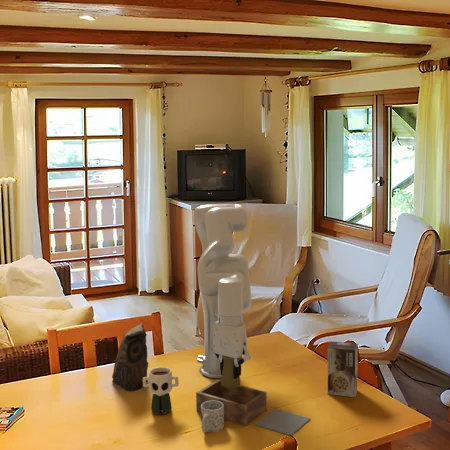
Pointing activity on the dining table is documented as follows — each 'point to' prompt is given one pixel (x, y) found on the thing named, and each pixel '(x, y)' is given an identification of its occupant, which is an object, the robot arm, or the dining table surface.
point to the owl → (131, 360)
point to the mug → (212, 416)
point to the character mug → (160, 388)
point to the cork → (229, 373)
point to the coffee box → (342, 368)
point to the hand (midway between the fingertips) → (230, 374)
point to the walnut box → (234, 401)
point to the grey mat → (282, 421)
